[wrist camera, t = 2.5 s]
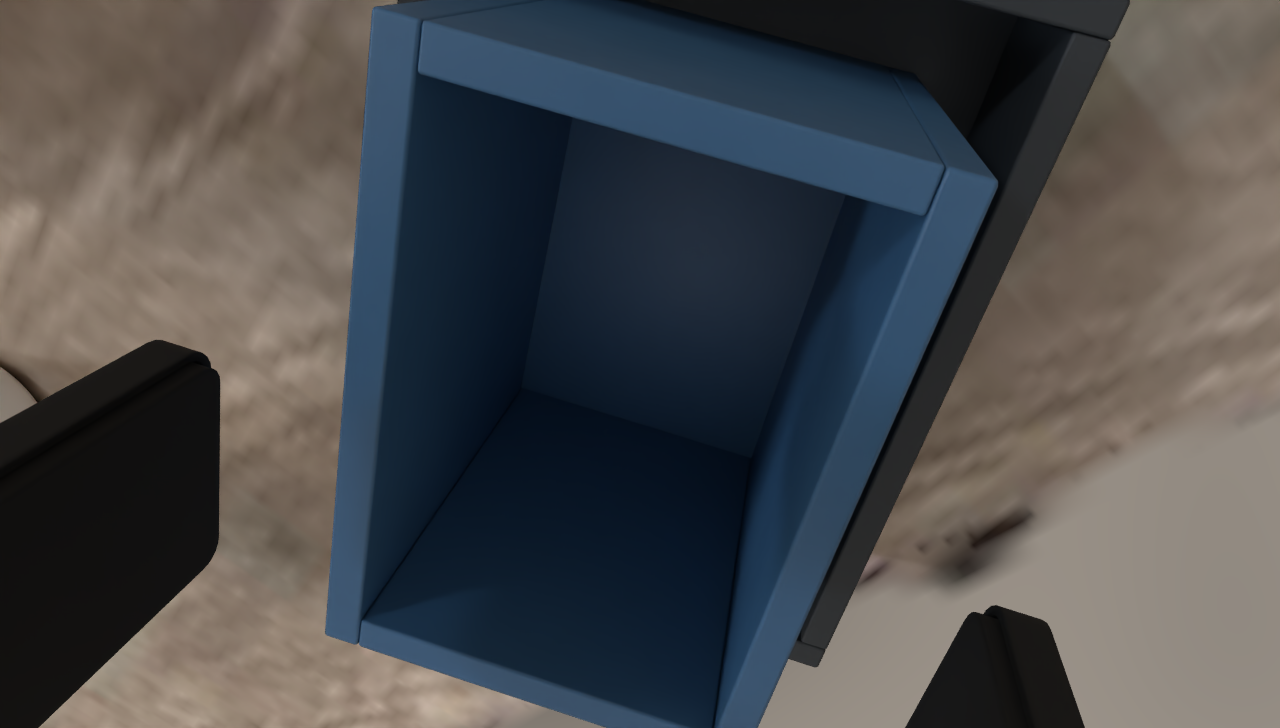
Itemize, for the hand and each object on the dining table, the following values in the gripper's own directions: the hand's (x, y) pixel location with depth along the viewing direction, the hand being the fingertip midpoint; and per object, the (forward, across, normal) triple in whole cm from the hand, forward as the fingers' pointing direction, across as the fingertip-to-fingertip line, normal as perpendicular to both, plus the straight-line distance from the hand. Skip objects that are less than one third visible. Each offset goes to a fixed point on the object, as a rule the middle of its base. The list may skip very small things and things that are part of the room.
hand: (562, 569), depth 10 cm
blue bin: (+11, 0, -1) cm, 11 cm away
